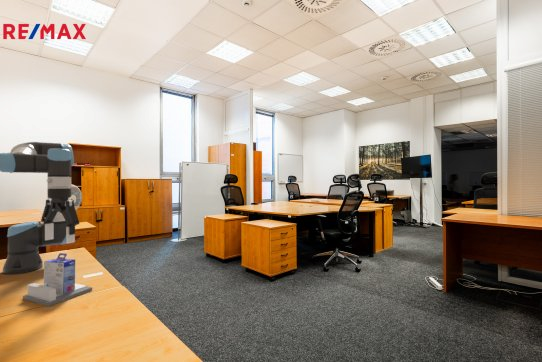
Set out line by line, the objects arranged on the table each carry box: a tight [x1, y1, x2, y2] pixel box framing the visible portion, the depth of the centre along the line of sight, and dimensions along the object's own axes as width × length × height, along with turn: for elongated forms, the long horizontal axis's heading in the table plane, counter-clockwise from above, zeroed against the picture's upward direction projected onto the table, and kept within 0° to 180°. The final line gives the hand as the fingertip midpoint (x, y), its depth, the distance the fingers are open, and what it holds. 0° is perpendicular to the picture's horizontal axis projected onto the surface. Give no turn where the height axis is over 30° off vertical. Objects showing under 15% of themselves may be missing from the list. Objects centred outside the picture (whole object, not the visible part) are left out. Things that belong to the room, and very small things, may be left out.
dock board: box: [22, 282, 93, 307], centre depth 110 cm, size 16×16×5 cm
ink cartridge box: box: [42, 252, 76, 294], centre depth 110 cm, size 10×6×14 cm, turn 78°
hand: (59, 241), depth 110 cm, fingers open, 13 cm apart
